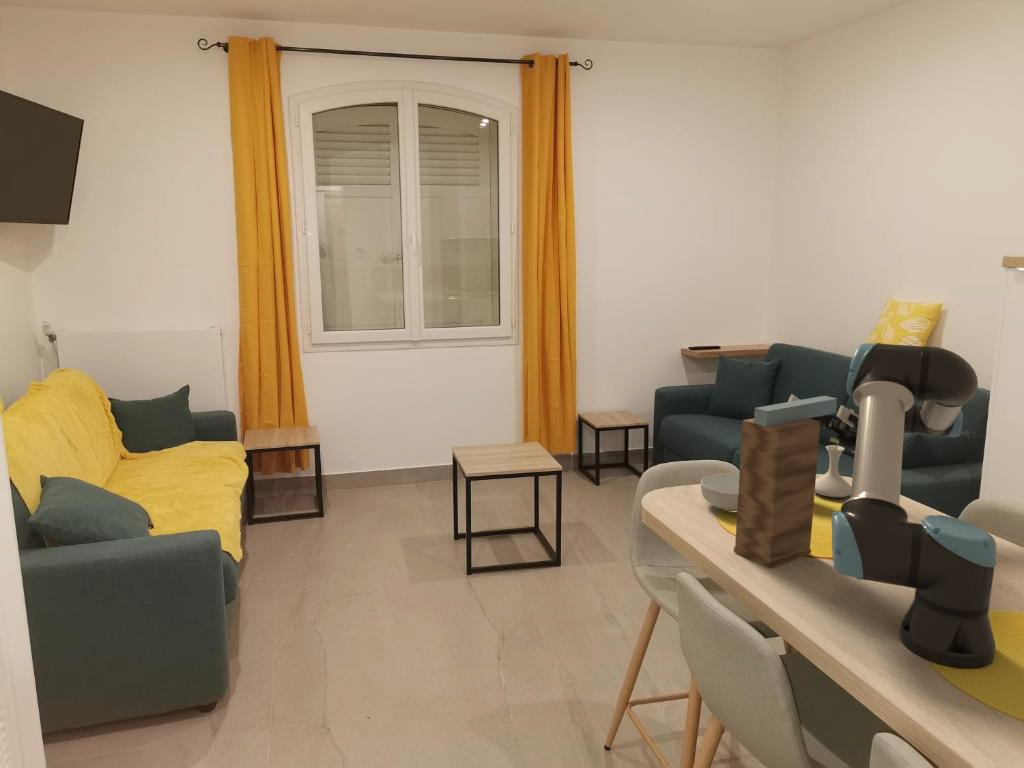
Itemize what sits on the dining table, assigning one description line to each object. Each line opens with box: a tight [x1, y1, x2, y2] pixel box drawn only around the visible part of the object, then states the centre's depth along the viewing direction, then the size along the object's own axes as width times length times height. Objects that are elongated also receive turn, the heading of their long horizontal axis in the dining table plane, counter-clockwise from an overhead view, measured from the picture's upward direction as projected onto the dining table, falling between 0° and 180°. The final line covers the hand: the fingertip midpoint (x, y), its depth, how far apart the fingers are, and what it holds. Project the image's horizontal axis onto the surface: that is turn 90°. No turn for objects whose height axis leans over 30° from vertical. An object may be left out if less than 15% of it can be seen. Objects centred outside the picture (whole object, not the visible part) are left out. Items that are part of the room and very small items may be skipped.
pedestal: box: [733, 418, 821, 569], centre depth 176 cm, size 10×14×32 cm
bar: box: [753, 395, 838, 427], centre depth 175 cm, size 4×24×4 cm, turn 122°
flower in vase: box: [815, 407, 859, 498], centre depth 217 cm, size 13×11×25 cm
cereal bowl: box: [700, 472, 740, 512], centre depth 208 cm, size 17×17×7 cm
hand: (814, 405), depth 179 cm, fingers open, 13 cm apart
